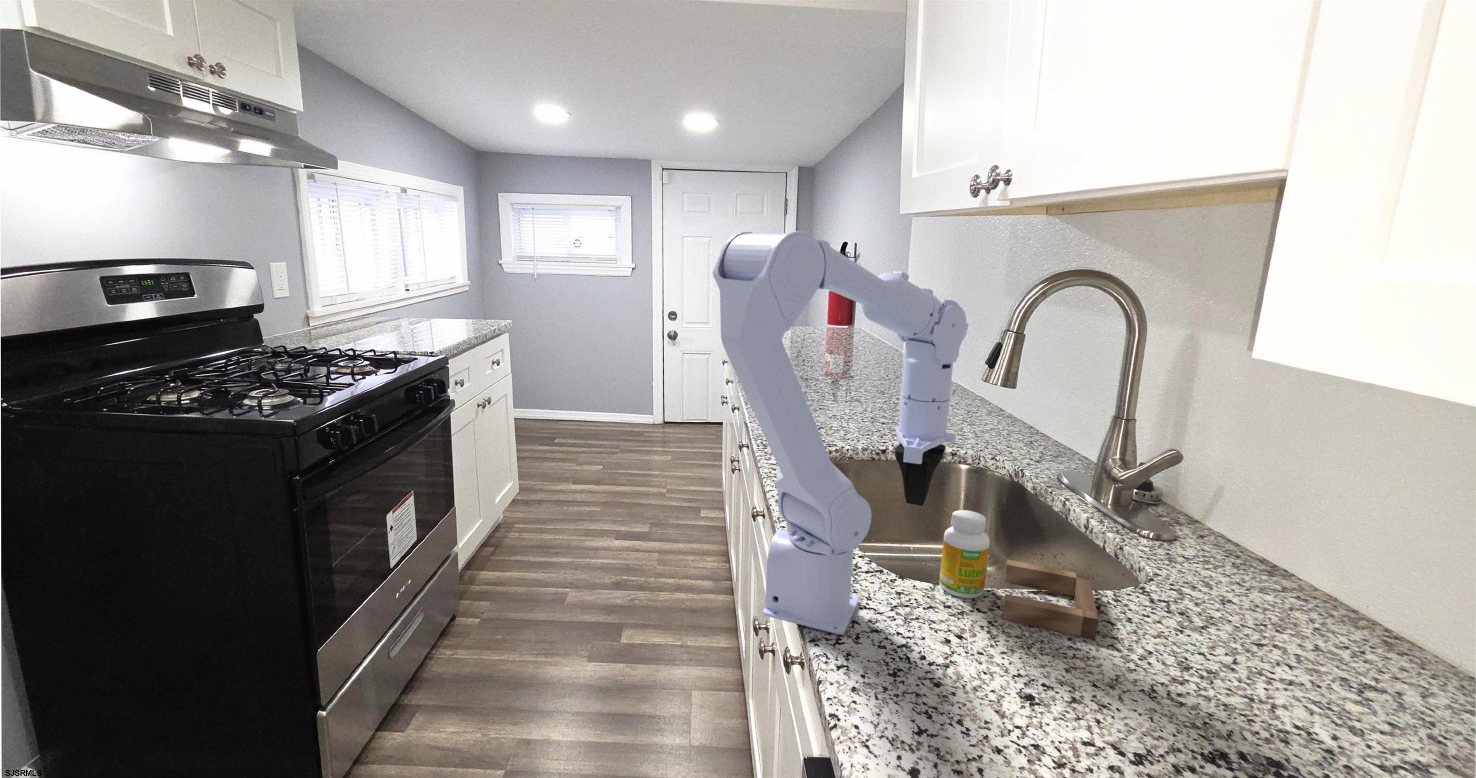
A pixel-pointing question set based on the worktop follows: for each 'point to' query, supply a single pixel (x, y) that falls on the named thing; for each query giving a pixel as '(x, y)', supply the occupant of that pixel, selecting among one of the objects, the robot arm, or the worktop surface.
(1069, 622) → the wooden u-shaped bracket
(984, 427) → the worktop surface
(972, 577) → the supplement bottle
